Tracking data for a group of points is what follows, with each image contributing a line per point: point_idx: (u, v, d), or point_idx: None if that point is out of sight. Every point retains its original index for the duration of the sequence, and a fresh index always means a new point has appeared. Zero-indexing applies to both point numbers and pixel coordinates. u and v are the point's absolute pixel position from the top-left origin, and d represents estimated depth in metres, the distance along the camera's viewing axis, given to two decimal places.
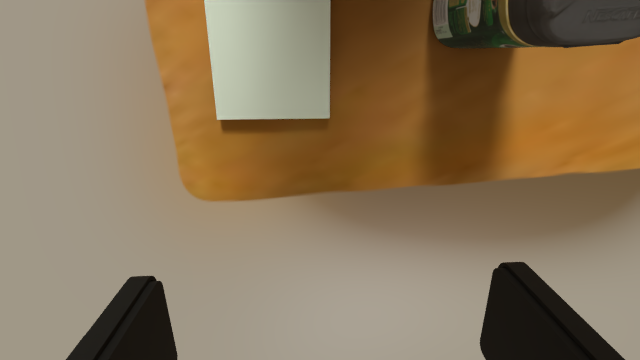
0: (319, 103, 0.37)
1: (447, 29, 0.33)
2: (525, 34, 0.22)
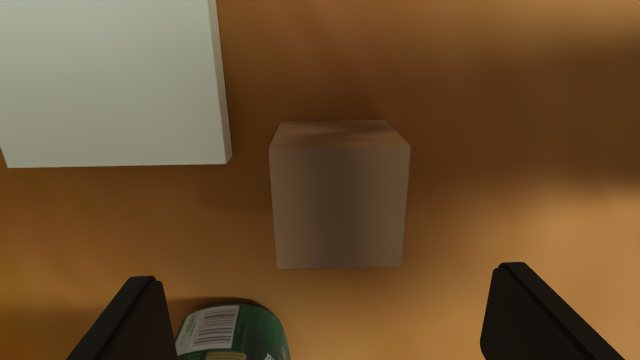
0: (31, 148, 0.19)
1: (181, 349, 0.21)
2: None
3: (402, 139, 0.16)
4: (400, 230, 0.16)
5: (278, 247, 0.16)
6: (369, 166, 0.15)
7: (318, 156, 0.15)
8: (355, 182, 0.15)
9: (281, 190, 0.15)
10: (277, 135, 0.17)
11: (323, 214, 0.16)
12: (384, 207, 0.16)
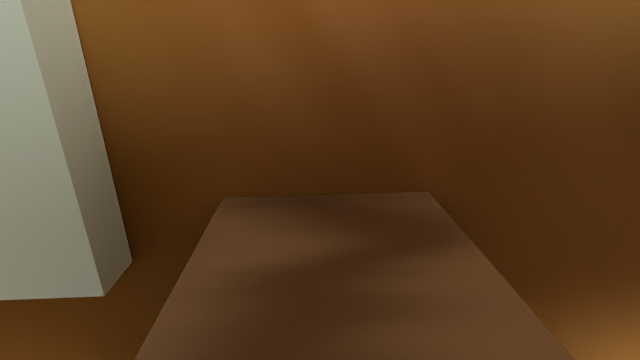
0: None
1: None
2: None
3: (519, 300, 0.06)
4: None
5: None
6: None
7: None
8: None
9: None
10: (189, 273, 0.07)
11: None
12: None
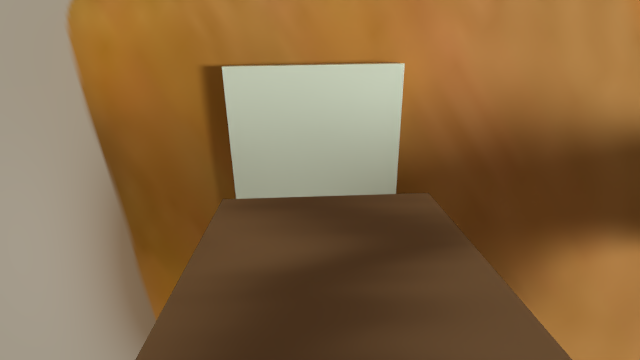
0: None
1: None
2: None
3: (519, 304, 0.06)
4: None
5: None
6: None
7: None
8: None
9: None
10: (188, 276, 0.07)
11: None
12: None
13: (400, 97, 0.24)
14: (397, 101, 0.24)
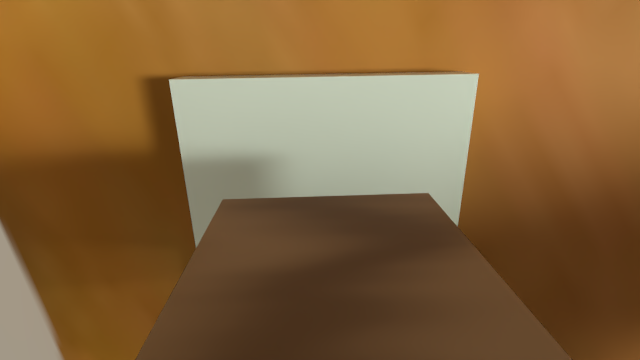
0: None
1: None
2: None
3: (518, 303, 0.06)
4: None
5: None
6: None
7: None
8: None
9: None
10: (188, 276, 0.07)
11: None
12: None
13: (468, 129, 0.14)
14: (462, 136, 0.14)
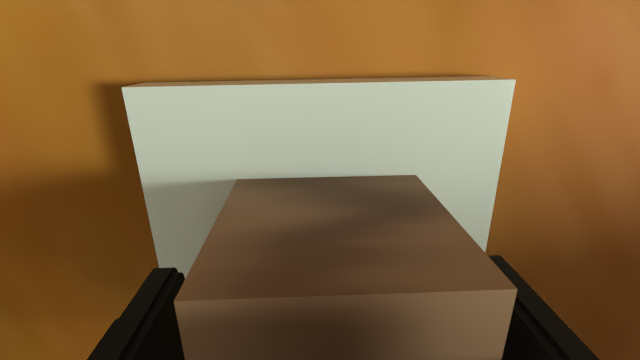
0: None
1: None
2: None
3: (480, 252, 0.07)
4: None
5: None
6: (417, 331, 0.06)
7: (297, 314, 0.06)
8: None
9: None
10: (215, 233, 0.08)
11: None
12: None
13: (499, 148, 0.12)
14: (493, 156, 0.12)
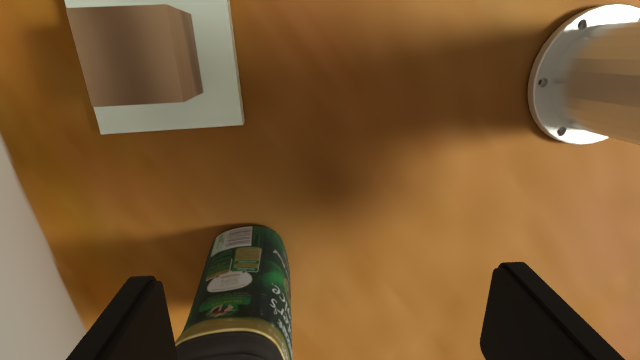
0: (117, 120, 0.30)
1: (218, 250, 0.32)
2: None
3: (170, 6, 0.23)
4: (175, 71, 0.23)
5: (89, 88, 0.23)
6: (141, 20, 0.22)
7: (102, 13, 0.22)
8: (134, 33, 0.22)
9: (81, 41, 0.22)
10: None
11: (117, 60, 0.23)
12: (158, 53, 0.23)
13: (225, 0, 0.27)
14: (223, 4, 0.27)
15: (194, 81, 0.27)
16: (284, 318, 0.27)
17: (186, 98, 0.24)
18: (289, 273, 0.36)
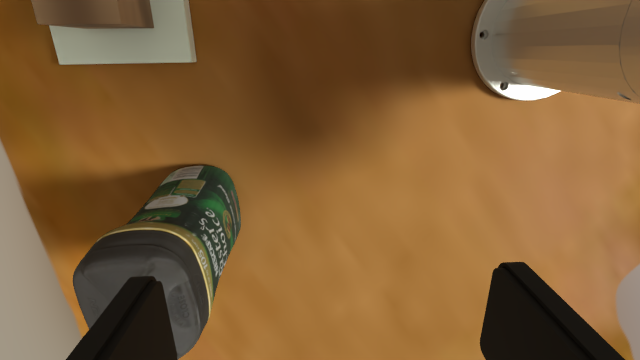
0: (74, 51, 0.32)
1: (166, 181, 0.34)
2: None
3: None
4: None
5: (34, 5, 0.25)
6: None
7: None
8: None
9: None
10: None
11: None
12: None
13: None
14: None
15: (140, 12, 0.29)
16: (212, 236, 0.28)
17: (126, 22, 0.26)
18: (238, 213, 0.38)
